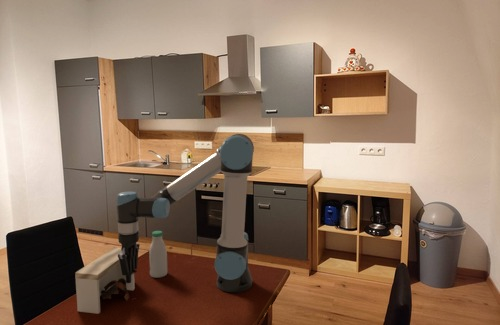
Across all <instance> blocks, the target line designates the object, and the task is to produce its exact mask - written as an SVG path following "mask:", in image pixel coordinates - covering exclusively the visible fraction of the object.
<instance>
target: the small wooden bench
mask: <svg viewBox="0 0 500 325" xmlns="http://www.w3.org/2000/svg"><path fill="white" fill-rule="evenodd" d="M121 248H122V247H118V246H116V247H113V248H110V249H109V250H108V251H107V252H105V253H103V254H102V255H100V256H99V257H97V258H96V259H94V260H93V261H92V262H90V263H88V264H87V265H85V266H83V267H82V268H80V269H78V270H77V271H76V272H74V273H75V274H74V275H75V278H74V279H75V290H76V292H75V293H76V306H77V307H76V308H77V312H80V313H91V314H97V315H98V314H100V313H101V299H100V297H102V294H101V291H102V290H105V289H104V287H105V286H106V285H107V284H108V283H109V282H111V281H113V280H117V281H118V280H119V279H121V278H123V279H125V280H126V275H122V270H121V265H120V260H119V258H118V254H121V252H122V251H121ZM113 286H114V285H112V286H111V287H109V288H108V289H107V290H106V292H107V291H109V290H110V289H111V288H112V287H113Z"/></svg>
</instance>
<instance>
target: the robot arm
mask: <svg viewBox="0 0 500 325" xmlns="http://www.w3.org/2000/svg"><path fill="white" fill-rule="evenodd" d="M254 151H255V148H254V143H253V141H252V139H251V138H250V137H249V136H247V135H246V134H243V133H235V134H232V135H230V136H229V137H227V138H225V139H224V141H223V142H222V143H221V145H220V146H219V147H218V148H216V152H214V153H213V154H211V155H210V156H208V157H207V158H206V159H204V160H203V161H201V162H200V163H199V164H197V165H196V166H194V167H193V168H191V169H189V170H188V171H187V172H185V173H184V174H182V175H181V176H179V177H178V178H177V179H174V181H172V182H171V183H169V184H167V185H166V186H165V187H163V188H161V189H160V190H158V191H157V192H156V193H155V194H153V195H152V196H150V197H139V196H138V193H137V192H136V191H123V192H122V191H121V192H119V193H118V194H117V196H116V212H117V229H118V230H117V232H118V233H117V234H118V235H117V236H118V243H119V244H121V247H120V248H121V251H122V252H121V254H118V258H119V260H120V265H121V270H122V275H126V290H127V291H134V290H135V288H136V287H135V285H136V284H135V273H137V271H138V270H137V269H138V260H139V250H140V243H137V242H139V240H140V236H139V235H140V234H139V218H145V219H146V218H149V219H154V218H155V219H164V218H167V217H168V216H169V215H170V210H171V208H170V207H171V206H172V205H174V204H175V203H176V202H178V201H179V200H181V199H182V198H184V197H185V196H186V195H188V194H190V193H191V192H193V191H194V190H196V189H197V188H198V187H200V186H201V185H203V184H204V183H206V182H207V181H210V179H212V178H214V177H215V176H216V175H218V174H220V173H222V174H223V175H224V178H223V179H224V180H223V198H222V219H221V234H220V235H219V236H220V237H219V238H218V239H216V240H217V241H216V257H215V259H214V270H215V272H216V273H217V278H216V287H217V289H219V290H220V291H222V292H227V293H243V292H245V291H248V290H249V289H251V287H253V277H252V275H251V271H250V269H249V235H248V233H247V232H245V223H246V208H247V207H246V205H247V190H248V189H247V188H248V177H249V176H250V175H251V174H252V172H253V158H254V157H253V156H254Z"/></svg>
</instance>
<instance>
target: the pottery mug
mask: <svg viewBox="0 0 500 325" xmlns="http://www.w3.org/2000/svg"><path fill="white" fill-rule="evenodd" d="M112 285H113V286H112ZM111 286H112V287H111ZM109 287H111V288H109ZM108 288H109V289H108ZM104 289H105V290H102V291H101V294H102V295H101V298H102V299H103V300H107V299H109V300H111V299H112V294H113V295H118V294H120V293H123V292H124V293H125V294H124V296H123V299H124V300H125V301H128V300H129V298H130V294H129V291H128V290H126V280H125V279H123V278H121V279H119V280H118V281H117V280H113V281H111V282H109V283H108V284H107V285H106V286H105V287H104ZM107 289H108V290H107ZM106 290H107V291H106Z"/></svg>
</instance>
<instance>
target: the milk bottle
mask: <svg viewBox="0 0 500 325" xmlns="http://www.w3.org/2000/svg"><path fill="white" fill-rule="evenodd" d="M163 234H164V232H163V231H162V230H155V231H152V233H151V237H152V240H151V242H150V243H151V244H150V245H149V250H148V251H149V253H148V255H149V258H148V259H149V260H148V262H149V275H150V277H151V278H154V279H155V278H157V279H158V278H163V277H165V276H167V274H168V254H167V252H168V251H167V250H168V249H167V247H166V246H167V245H166V244H165V242H164V240H163Z"/></svg>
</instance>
